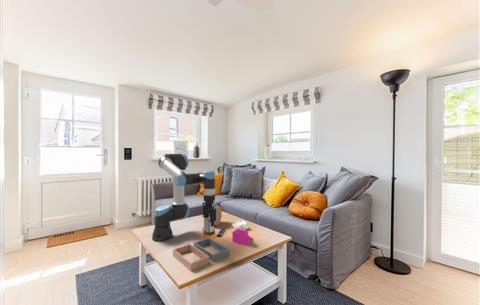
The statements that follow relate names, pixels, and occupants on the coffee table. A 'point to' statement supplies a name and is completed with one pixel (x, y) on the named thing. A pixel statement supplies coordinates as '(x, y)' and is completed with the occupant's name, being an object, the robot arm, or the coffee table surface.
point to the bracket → (241, 236)
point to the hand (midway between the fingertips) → (209, 229)
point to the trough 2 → (213, 243)
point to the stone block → (207, 224)
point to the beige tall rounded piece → (217, 214)
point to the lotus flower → (240, 225)
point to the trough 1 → (203, 256)
